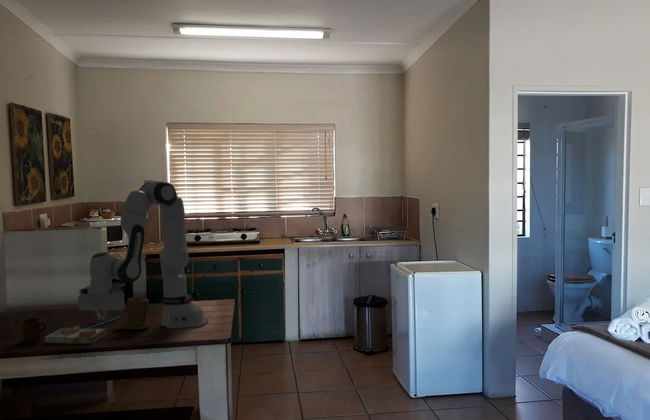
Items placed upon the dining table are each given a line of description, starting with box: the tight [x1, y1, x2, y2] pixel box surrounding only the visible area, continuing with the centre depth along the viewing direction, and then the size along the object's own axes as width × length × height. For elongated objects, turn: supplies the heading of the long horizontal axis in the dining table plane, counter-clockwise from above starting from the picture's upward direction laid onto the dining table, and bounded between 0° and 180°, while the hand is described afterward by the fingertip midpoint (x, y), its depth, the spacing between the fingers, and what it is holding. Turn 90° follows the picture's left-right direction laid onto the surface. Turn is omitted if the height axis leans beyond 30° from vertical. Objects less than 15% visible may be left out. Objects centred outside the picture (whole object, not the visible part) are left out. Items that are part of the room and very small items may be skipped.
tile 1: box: [64, 324, 81, 337], centre depth 236 cm, size 5×5×2 cm
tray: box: [44, 327, 72, 344], centre depth 233 cm, size 8×14×3 cm, turn 177°
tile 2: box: [79, 328, 97, 337], centre depth 229 cm, size 5×5×2 cm
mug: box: [21, 317, 48, 344], centre depth 230 cm, size 12×8×9 cm, turn 76°
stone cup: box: [113, 297, 151, 331], centre depth 247 cm, size 15×12×15 cm
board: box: [63, 328, 108, 344], centre depth 232 cm, size 13×14×2 cm
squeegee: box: [85, 315, 123, 329], centre depth 257 cm, size 29×2×10 cm
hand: (101, 319), depth 228 cm, fingers closed
